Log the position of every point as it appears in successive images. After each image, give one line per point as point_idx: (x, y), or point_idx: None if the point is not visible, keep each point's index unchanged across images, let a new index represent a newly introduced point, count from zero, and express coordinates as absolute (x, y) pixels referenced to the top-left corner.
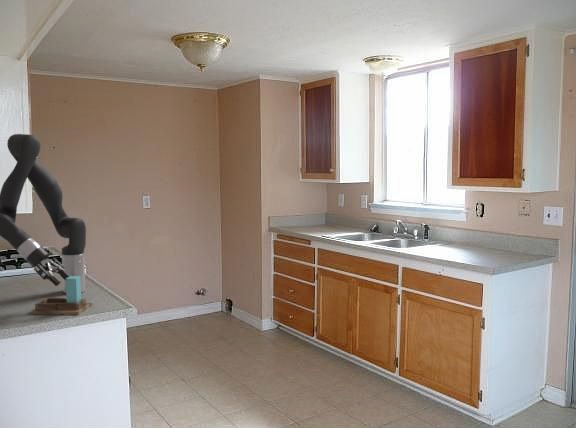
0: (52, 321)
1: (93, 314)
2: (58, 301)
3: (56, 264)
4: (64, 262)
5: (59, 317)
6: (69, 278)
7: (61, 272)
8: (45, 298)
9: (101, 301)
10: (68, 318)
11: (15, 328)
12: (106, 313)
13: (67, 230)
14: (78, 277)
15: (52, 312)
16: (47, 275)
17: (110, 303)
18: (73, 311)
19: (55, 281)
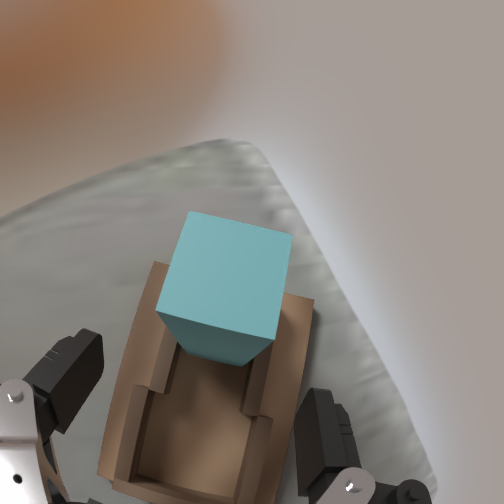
0: (380, 388)
1: (299, 245)
2: (143, 425)
3: (16, 491)
4: None
5: (330, 379)
6: (280, 298)
7: (51, 413)
8: (127, 492)
9: (95, 236)
10: (348, 335)
11: (432, 477)
12: (290, 202)
13: None
14: (235, 221)
15: (291, 424)
16: (420, 490)
17: (141, 199)
18: (297, 324)
19: (346, 424)
